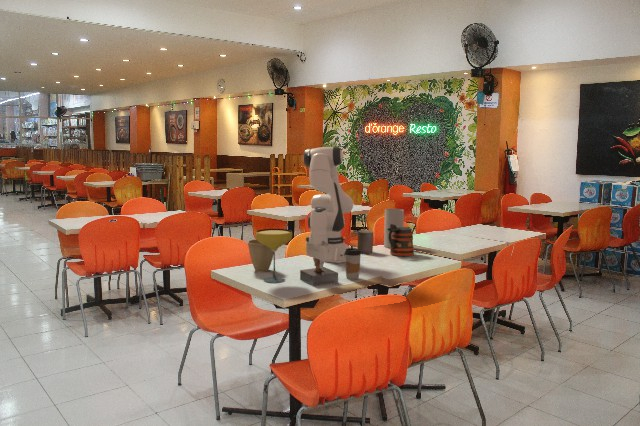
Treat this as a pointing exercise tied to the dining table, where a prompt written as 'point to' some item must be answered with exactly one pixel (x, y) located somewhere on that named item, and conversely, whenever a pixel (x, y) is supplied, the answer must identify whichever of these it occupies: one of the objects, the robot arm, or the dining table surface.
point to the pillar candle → (365, 241)
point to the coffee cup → (352, 263)
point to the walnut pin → (318, 266)
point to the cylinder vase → (392, 222)
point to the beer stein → (401, 241)
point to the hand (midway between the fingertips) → (318, 267)
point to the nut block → (318, 276)
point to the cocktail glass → (274, 245)
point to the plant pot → (260, 255)
